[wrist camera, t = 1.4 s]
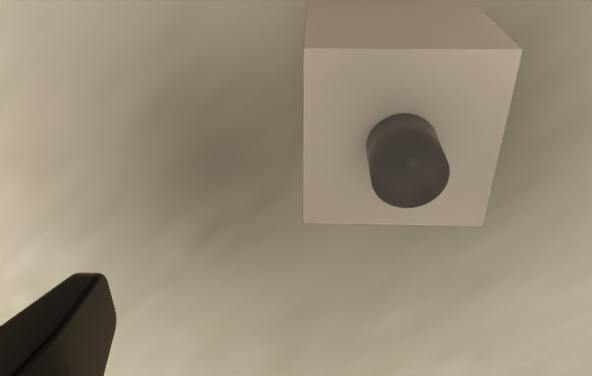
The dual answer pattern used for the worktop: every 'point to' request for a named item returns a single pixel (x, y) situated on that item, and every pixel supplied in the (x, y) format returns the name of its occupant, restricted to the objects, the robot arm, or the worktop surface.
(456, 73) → the plug
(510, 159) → the worktop surface
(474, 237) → the worktop surface
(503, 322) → the worktop surface
